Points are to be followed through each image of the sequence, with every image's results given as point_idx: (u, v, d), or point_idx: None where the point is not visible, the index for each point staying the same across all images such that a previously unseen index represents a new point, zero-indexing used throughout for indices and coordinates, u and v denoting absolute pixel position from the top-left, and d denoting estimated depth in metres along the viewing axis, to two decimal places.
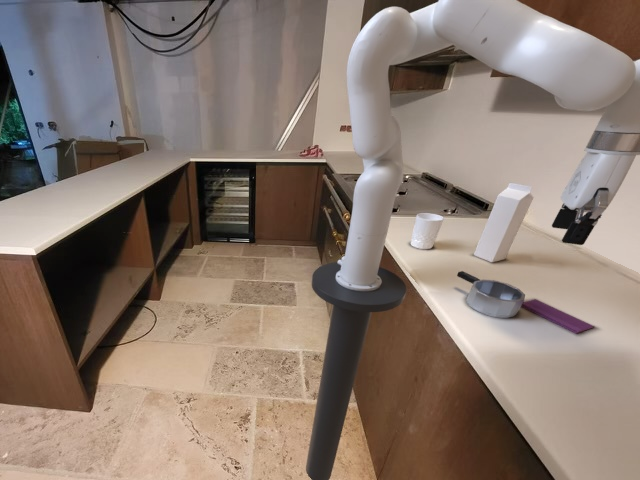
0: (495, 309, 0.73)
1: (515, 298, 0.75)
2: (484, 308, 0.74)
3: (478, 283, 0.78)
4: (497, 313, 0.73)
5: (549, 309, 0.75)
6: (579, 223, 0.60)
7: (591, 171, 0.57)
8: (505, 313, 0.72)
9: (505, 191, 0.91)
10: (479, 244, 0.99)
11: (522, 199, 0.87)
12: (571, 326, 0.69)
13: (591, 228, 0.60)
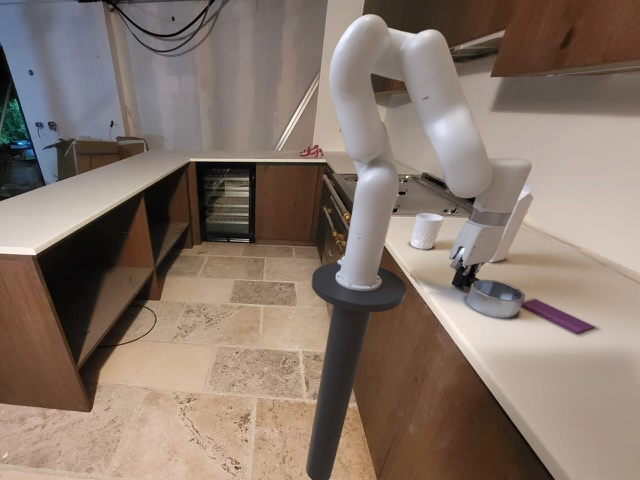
0: (495, 309, 0.73)
1: (515, 298, 0.75)
2: (484, 308, 0.74)
3: (478, 283, 0.78)
4: (497, 313, 0.73)
5: (549, 309, 0.75)
6: (457, 271, 0.81)
7: None
8: (505, 313, 0.72)
9: None
10: None
11: (522, 199, 0.87)
12: (571, 326, 0.69)
13: (466, 278, 0.80)
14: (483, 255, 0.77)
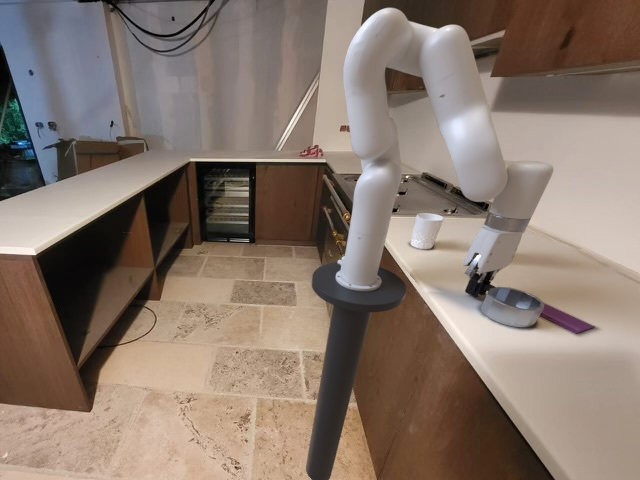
0: (513, 318, 0.69)
1: (533, 306, 0.72)
2: (501, 317, 0.71)
3: (493, 291, 0.75)
4: (515, 322, 0.69)
5: (549, 309, 0.75)
6: (471, 279, 0.78)
7: (474, 239, 0.74)
8: (523, 322, 0.69)
9: None
10: None
11: None
12: (571, 326, 0.69)
13: (480, 285, 0.77)
14: (499, 262, 0.73)
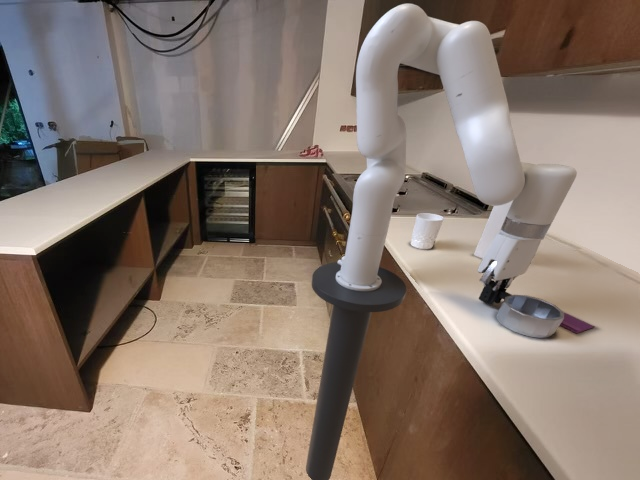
0: (531, 328, 0.66)
1: (551, 316, 0.69)
2: (519, 327, 0.68)
3: (510, 299, 0.72)
4: (533, 333, 0.66)
5: None
6: (485, 286, 0.75)
7: (490, 245, 0.71)
8: (542, 332, 0.66)
9: None
10: (479, 244, 0.99)
11: None
12: (571, 326, 0.69)
13: (496, 293, 0.74)
14: (516, 269, 0.70)
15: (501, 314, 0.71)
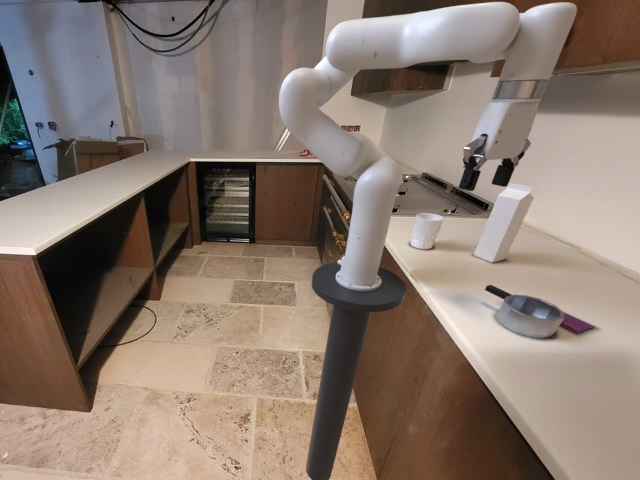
0: (531, 328, 0.66)
1: (551, 316, 0.69)
2: (518, 327, 0.68)
3: (510, 299, 0.72)
4: (533, 333, 0.66)
5: None
6: (465, 168, 0.66)
7: (481, 119, 0.63)
8: (542, 332, 0.66)
9: (505, 191, 0.91)
10: (479, 244, 0.99)
11: (522, 199, 0.87)
12: (571, 326, 0.69)
13: (477, 174, 0.65)
14: (510, 146, 0.63)
15: (501, 314, 0.71)
